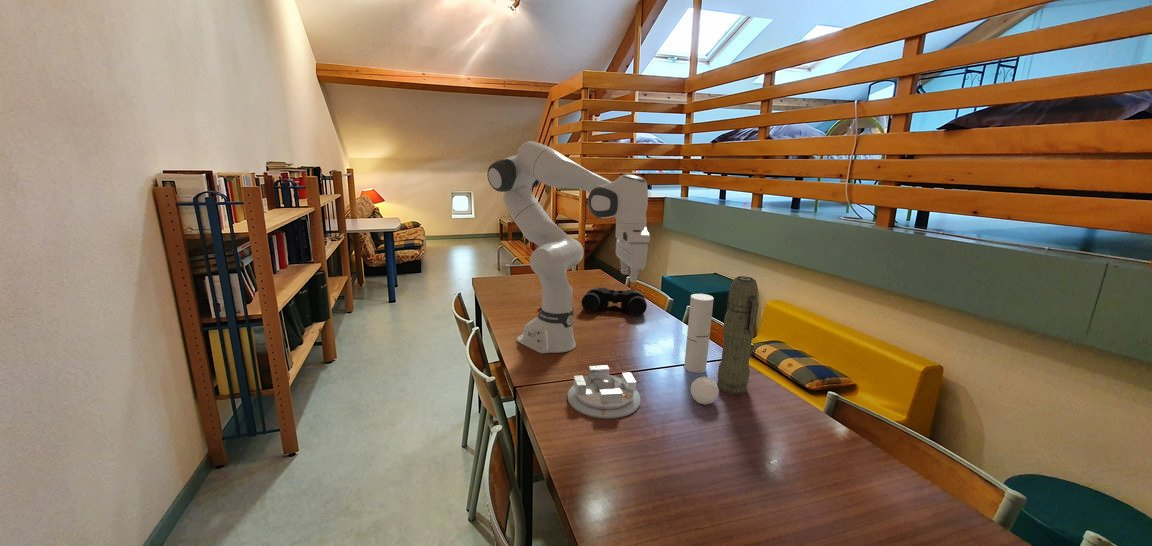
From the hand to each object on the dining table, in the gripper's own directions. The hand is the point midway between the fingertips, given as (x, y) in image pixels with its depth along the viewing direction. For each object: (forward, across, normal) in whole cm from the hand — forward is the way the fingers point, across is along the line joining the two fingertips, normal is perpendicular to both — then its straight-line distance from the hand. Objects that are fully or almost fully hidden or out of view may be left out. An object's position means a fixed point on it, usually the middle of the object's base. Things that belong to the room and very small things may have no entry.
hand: (628, 277), depth 137 cm
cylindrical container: (+34, -5, +26) cm, 43 cm away
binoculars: (+33, -67, +14) cm, 76 cm away
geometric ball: (+34, +16, +19) cm, 42 cm away
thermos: (+34, +9, +32) cm, 47 cm away
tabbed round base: (+32, +11, -9) cm, 35 cm away
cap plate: (+33, +11, -9) cm, 36 cm away
